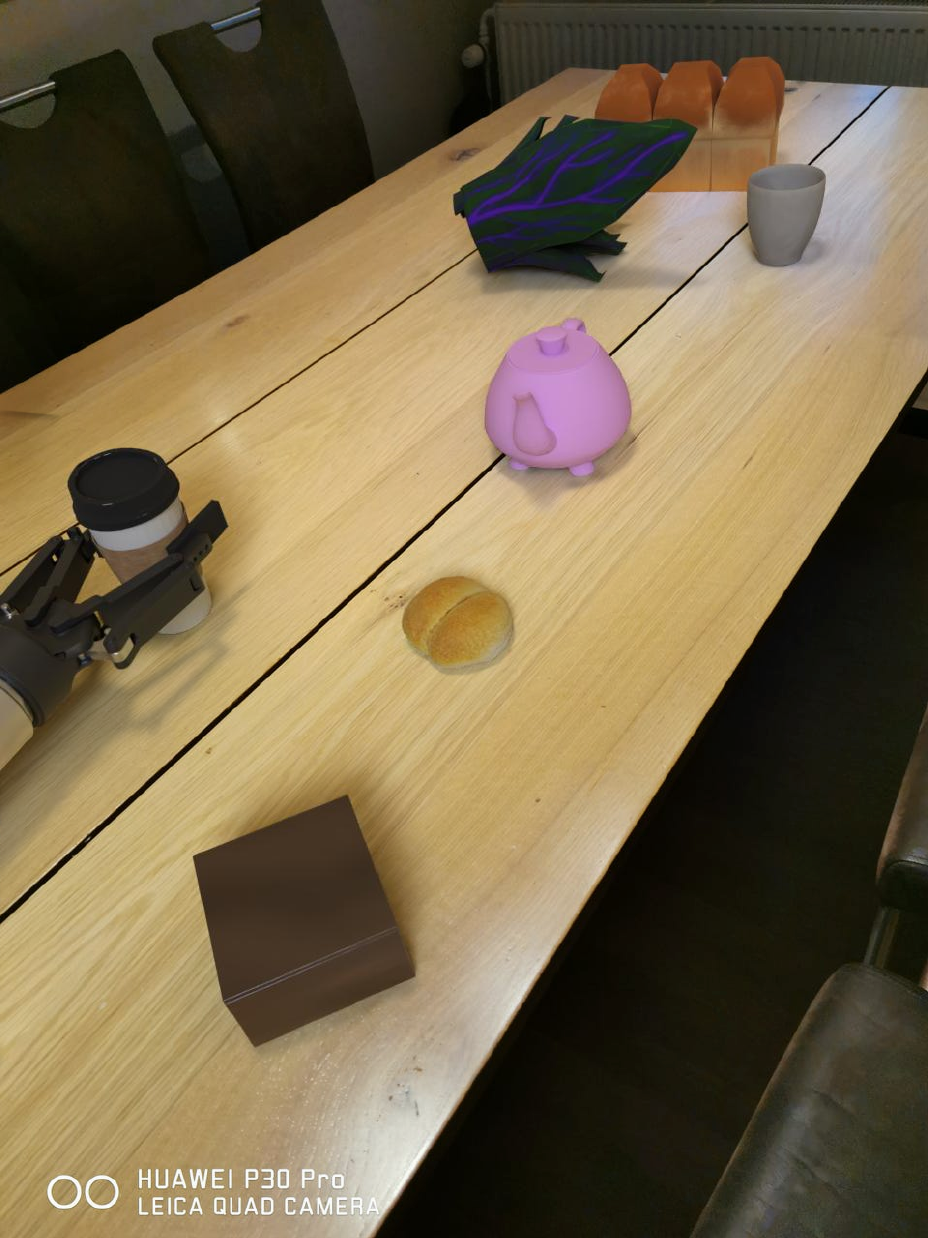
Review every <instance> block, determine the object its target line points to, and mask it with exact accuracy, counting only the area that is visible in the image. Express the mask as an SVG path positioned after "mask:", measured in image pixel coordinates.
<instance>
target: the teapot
mask: <svg viewBox="0 0 928 1238" xmlns="http://www.w3.org/2000/svg"><path fill="white" fill-rule="evenodd" d="M632 411H633V410H632V402H631V396H630V393H629V388H628V386H627V383H626V380H625V378H624V376H623V373H622V372H621V370H620V368H619V367H618V365H617V363H616V362H615V361H614V360H613V358H612V357H611V356H610V354H609V353H608V352H607V350H606V348H604V347H603V346H602V345H601V343H600V342H599V341H598V340H597V339H596V338H594V336H592V335H591V334H588V333H587V327H586V323H585V322H584V321H583V320H581V319H580V318H577V317H571V318H570V317H569V318H566V319H565V320H563V321H562V323H561V324H560V325H559V326H558V325H550V326H549V325H548V326H544V327H542V328H540V329H537V331H534V332H531V333H529V334H526V335H524V336H522V337H521V338H519V339H517V340H516V341H514V342H513V344H511V346H510V347H509V348H508V349H507V351H506V353H505V354H504V356H503V357H502V359H501V361H500V363H499V365H498V367H497V368H496V371H495V373H494V374H493V376H492V379H491V382H490V384H489V387H488V390H487V394H486V397H485V404H484V420H483V421H484V429H485V433H486V435H487V437H488V439H489V440H490V442H491V443H492V445H493V446H494V447H496V448H497V450H499V451H500V452H501V453H502V454H504V455H505V456H507V457H509V462H508V467H510V468H511V469H513V470H516V471H521V470H527V469H529V468H531V467H533V468H539V469H565V468H567V469H568V471H569V473H570V474H572V475H574V476H577V477H583V476H587V475H590V474H592V473H593V472H594V471H595V468H596V467H595V463H594V462H593V461H594V460H595V459H596V460H597V459H598V458H600V457H601V456H603V455H604V454H605V453H607V452H608V451H609V450H610V449H612V447H614V445H616V444H617V443H618V442H619V441H620V439H621V438H622V437H623V436H624V434H626V431H627V429H628V428H629V426H630V423H631V419H632V413H633V412H632Z"/></svg>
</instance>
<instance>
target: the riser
mask: <svg viewBox="0 0 928 1238" xmlns="http://www.w3.org/2000/svg"><path fill="white" fill-rule="evenodd" d="M192 861H193V866H194V869H195V875H196V879H197V884H198V888H199V894H200V898H201V904H202V908H203V913H204V918H205V923H206V928H207V932H208V937H209V942H210V947H211V951H212V956H213V961H214V966H215V971H216V975H217V980H218V985H219V989H220V995H221V999H222V1002H223V1004H224V1005H225V1007H226V1008H227V1009H228V1011H229V1013H230V1014H231V1015H232V1017H233V1018H234V1020H235V1022H236V1023H237V1024H238V1025H239V1027H240V1029H241V1030H242V1031H243V1033H244V1035H245V1036H246V1038H247V1040H249V1041H250V1043H251V1045H252V1046H253V1047H254V1048H257V1047H259V1046H262V1045H264V1044H266V1043H269V1042H271V1041H273V1040H276V1039H278V1038H280V1037H282V1036H284V1035H286V1034H288V1033H291V1032H293V1031H296V1030H297V1029H301V1028H302V1027H305V1026H306V1025H309V1024H311V1023H314V1022H316V1021H318V1020H320V1019H322V1018H325V1017H327V1016H330V1015H332V1014H333V1013H336V1012H339V1011H341V1010H343V1009H345V1008H348V1007H350V1006H352V1005H355V1004H356V1003H359V1002H361V1001H363V1000H365V999H367V998H370V997H372V996H374V995H377V994H379V993H382V992H383V991H386V990H389V989H390V988H393V987H395V986H397V985H400V984H402V983H404V982H406V981H408V980H410V979H413V978H415V977H416V973H415V970H414V968H413V963H412V962H411V959H410V956H409V953H408V950H407V947H406V946H405V945H406V944H405V943H404V940H403V936H402V934H401V931H400V929H399V926H398V924H397V921H396V918H395V915H394V913H393V910H392V908H391V907H392V906H391V905H390V902H389V900H388V897H387V894H386V892H385V888H384V886H383V884H382V881H381V878H380V876H379V873H378V870H377V868H376V865H375V863H374V860H373V858H372V854H371V852H370V849H369V847H368V844H367V841H366V839H365V835H364V833H363V830H362V828H361V826H360V823H359V820H358V818H357V815H356V813H355V810H354V807H353V804H352V802H351V799H350V797H349V794H348V793H346V794H344V795H341V796H339V797H336V798H334V799H331V800H329V801H325V802H324V803H321V804H318V805H315V806H314V807H311V808H309V809H306V810H304V811H301V812H299V813H297V814H294V815H291V816H289V817H286V818H284V819H281V820H278V821H276V822H273V823H272V824H269V825H267V826H264V827H261V828H258V829H256V830H254V831H251V832H249V833H246V834H243V835H241V836H239V837H236V838H234V839H231V840H229V841H226V842H223V843H220V844H219V845H216V846H214V847H211V848H209V849H206V850H204V851H201V852H198V853H196V854H194V855H192Z"/></svg>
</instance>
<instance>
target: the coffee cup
mask: <svg viewBox="0 0 928 1238" xmlns="http://www.w3.org/2000/svg"><path fill="white" fill-rule="evenodd" d="M66 488H67V489H68V492H69V495H70V498H71V501H72V507H71V508H72V510H73V514H74V515H75V519H76V521H77V522H78V524H79V525H80V526H82V527H83V528H85V529H89V531H90V532H91V537H92V541H93V542H94V544H95V545H96V547H97V548H98V550H99V551H100V553H101V554H102V556H103V557H104V558H103V559H104V560H105V562H106V564H107V565H108V566H109V568H110V570H111V571H112V573H113V574H114V576H115V577H116V579H117V580H118V582H119V584H120V585H122V584H123V583H125V582H127V581H128V580H130V579H131V578H133V577H135V576H136V575H138V574H140V573H141V572H143V571H144V570H146V569H148V568H149V567H151V566H153V565H154V564H156V563H157V562H159V561H161V560H162V559H164V558H166V557H167V556H169V555H168V553H167V550H166V547H167V546H168V545H169V544H170V543H171V542H172V541H173V540H174V539H175V538H176V537H177V536H178V535H179V534H180V533H181V532H182V530H183V529H184V528H185V527H186V526H187V525H188V524H189V523H190V521H189V517H188V513H187V510H186V506H185V504H184V502H183V501H182V500H181V499H180V496H179V493H180V490H181V483H180V481H179V478H178V477H177V475H176V472H175V471H173V469H172V468H171V467H169V465H168V464H167V462H166V460H165V459H164V458H163V457H162V456H161V455H159V454H158V453H156V452H154V451H151V450H148V449H145V448H140V447H115V448H110V449H106V450H102V451H99V452H98V453H95V454H93V455H90V456H89V457H87V458H85V459H84V460H82V461H80V462H79V463H77V464H76V466H75V467H74V468H73V470H72V471H71V472H70V474H69V476H68V479H67V487H66ZM197 569H198V571H199V574H200V576H201V578H202V581H203V583H204V586H205V590H204V591H203V592H202V593H201V594H200V595H199V596H198V597H196V598H195V599H194V600H193V601H192V602H191V603H190V604H189V605H188V606H187V607H185V608H184V609H183V610H182V611H181V612H180V613H179V614H178V615H177V616H176V617H174V618H173V619H172V620H171V621H170V622H169V623H168V624H167V625H166V626H165V627H163V628H162V629H161V630H160V631H159V632H158V633H157V634H162V635H176V634H180V633H183V632H186V631H189V630H191V629H193V628H195V627H197V625H199V624H200V623H202V622H203V621H204V620H205V619H206V618H207V617H208V615H209V613H210V612H211V610H212V606H213V601H212V597H211V593H210V590H209V587H208V584H207V580H206V577H205V574H204V571H203V566H202V562H201V563H200V564H199V566H198V567H197ZM171 574H172V571H171Z"/></svg>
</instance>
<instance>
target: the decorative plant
mask: <svg viewBox="0 0 928 1238" xmlns="http://www.w3.org/2000/svg"><path fill="white" fill-rule="evenodd" d="M552 118H553V116H539V117H538V118H537V120H536V121H535V123H534V124H533V125H532V127H531V128H530V129H529V130H528V132H527V133H526V134H525V135H524V137H523V138H522V139H521V140H520V141H519V143H518V144H516V146H515V147H514V148H513V149H512V150H511V151H510V153H509V154H507V156H506V157H504V158H503V160H501V161H500V163H498V164H497V165H496V166H495V167H494V168H493V169H490V170H487V172H484V173H483V174H481V175H479V176H477V177H475V178H473V179H471V180H470V181H468V182H467V183H464V184H463V185H462V186H461V187H459V191H457V192H455V193H453V195H452V196H453V197H452V203H453V204H452V207H453V212H454V216H455V217H456V216H458V215H460V216H461V218H462V219H465V221H466V224H467V227H468V230H469V234H470V236H471V239H472V241H473V243H474V245H475V247H476V249H477V251H478V253H479V256H480V258H481V260H482V263H483V265H484V267H485V269H486V272H487V273H488V274H491V273H493V272H497V271H499V270H502V269H504V268H508V267H513V266H518V265H526V266H535V267H542V268H547V269H553V270H558V271H564V272H567V273H570V274H573V275H577V276H580V277H584V278H587V279H590V280H592V281H594V282H596V283H599V282H600V281H601V280H602V278H603V277H604V276H605V274H606V273H607V272H608V269H606V270H605V271H603V272H599V271H598V269H597V268H596V267H595V265H594V263H592V261H591V260H589V259H588V258H587V257H585V256H589V255H605V254H606V255H614V256H619V255H620V254H621V253H622V252H623V251H624V249H625V248H626V246H627V245H628V243H629V242H627V241H619V240H618V238H619V237H620V236H621V235H622V233H615V234H613V233H609V232H608V231H606V230H604V229H606V228H608V227H610V225H612V224H614V223H616V222H618V220H620V219H621V218H622V217H623V216H624V215H626V213H627V212H628V211H629V210H631V208H632V207H633V206H634V205H635V204H636V203H638V201H639V200H640V199H642V198H643V197H644V196H645V195H646V194H647V193H648V192H647V191H649V190H650V189H651V188H652V187H653V186H654V185H655V184H656V183H657V182H658V181H659V180H660V179H662V178H663V177H664V176H665V175H666V174H668V173H669V172H670V171H671V170H672V169H673V168H674V167H675V166H676V164H677V163H678V162H679V160H680V159H681V158H682V156H683V155H684V153H685V152H686V150H687V149H688V147H689V145H690V143H691V141H692V139H693V137H694V136H695V134H696V132H697V130H698V128H696V127H694V126H692V125H690V124H688V123H686V122H684V121H682V120H680V119H674V118H666V119H656V120H652V121H647V122H642V123H638V122H626V121H615V120H603V119H594V118H590V117H589V118H588V117H586V118H583V119H581V117H580V116H574V115H571V114H564V115H563V117H561V119H560V121H559V122H558V123H557V125H555V127H554V128H553V129H552V130H549V131H548V132H547V133H545V134H544V135H542V134H543V130H544V127H545V123H546V122H547V121H548V120H549V119H552Z"/></svg>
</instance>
